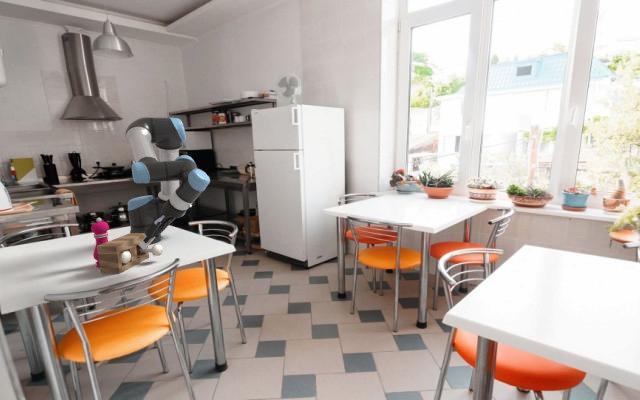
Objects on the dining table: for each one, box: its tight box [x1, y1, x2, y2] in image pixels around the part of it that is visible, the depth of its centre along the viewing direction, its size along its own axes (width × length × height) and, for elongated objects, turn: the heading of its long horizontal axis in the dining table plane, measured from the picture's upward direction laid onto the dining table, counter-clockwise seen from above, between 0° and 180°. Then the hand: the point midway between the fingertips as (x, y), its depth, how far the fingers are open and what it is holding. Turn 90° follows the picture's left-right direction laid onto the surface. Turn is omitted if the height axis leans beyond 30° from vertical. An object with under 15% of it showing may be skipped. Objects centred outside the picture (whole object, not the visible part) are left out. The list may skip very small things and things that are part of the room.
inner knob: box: [140, 244, 164, 257], centre depth 136 cm, size 5×8×5 cm, turn 84°
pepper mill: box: [90, 217, 110, 268], centre depth 133 cm, size 7×7×20 cm
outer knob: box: [120, 251, 131, 263], centre depth 128 cm, size 5×8×5 cm, turn 84°
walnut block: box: [97, 232, 150, 275], centre depth 133 cm, size 18×8×11 cm, turn 174°
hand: (142, 246), depth 126 cm, fingers closed
